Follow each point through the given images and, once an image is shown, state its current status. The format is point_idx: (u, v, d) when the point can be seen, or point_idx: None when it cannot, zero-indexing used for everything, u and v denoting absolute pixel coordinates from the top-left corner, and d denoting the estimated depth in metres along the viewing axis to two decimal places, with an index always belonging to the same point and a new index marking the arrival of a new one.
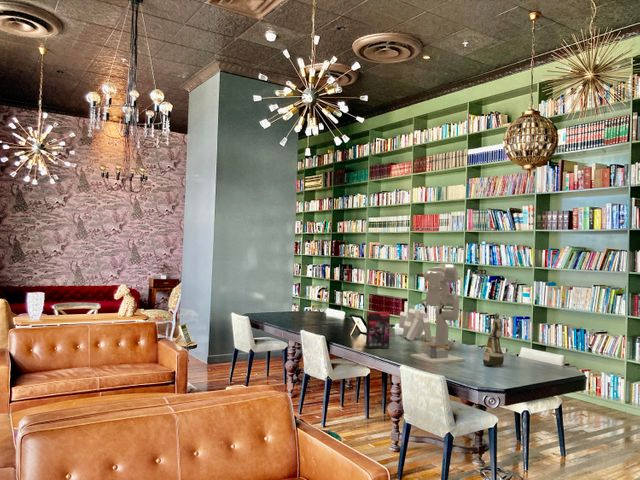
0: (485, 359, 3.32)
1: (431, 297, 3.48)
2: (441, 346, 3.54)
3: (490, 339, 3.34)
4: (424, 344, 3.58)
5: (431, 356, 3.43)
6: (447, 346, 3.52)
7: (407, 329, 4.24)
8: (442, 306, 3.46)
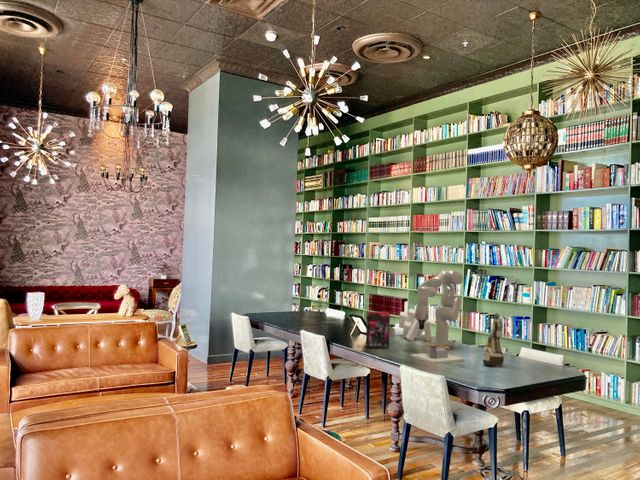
0: (485, 359, 3.32)
1: None
2: (441, 346, 3.54)
3: (490, 339, 3.34)
4: (424, 344, 3.58)
5: (431, 356, 3.43)
6: (447, 346, 3.52)
7: (407, 329, 4.24)
8: None
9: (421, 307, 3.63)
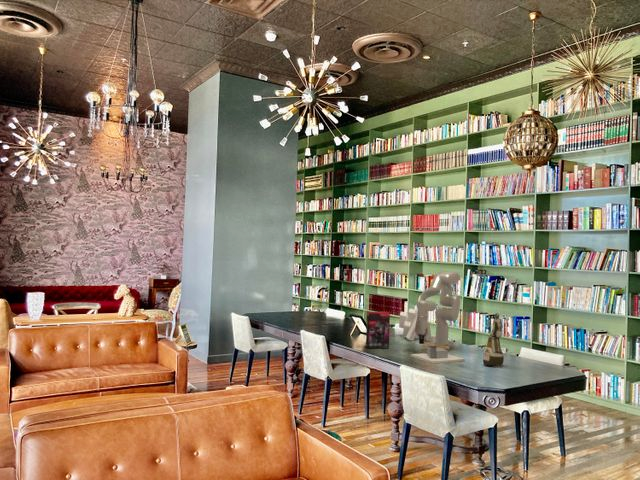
0: (485, 359, 3.32)
1: None
2: (441, 346, 3.54)
3: (490, 339, 3.34)
4: (424, 344, 3.58)
5: (431, 356, 3.43)
6: (447, 346, 3.52)
7: (407, 329, 4.24)
8: (420, 335, 3.68)
9: (421, 322, 3.63)
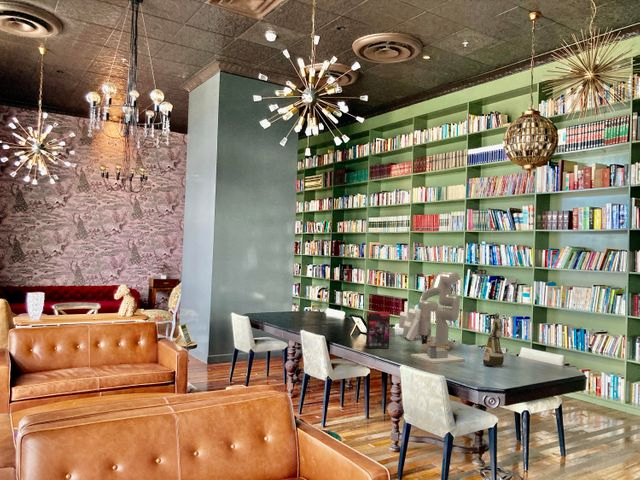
0: (485, 359, 3.32)
1: None
2: (441, 346, 3.54)
3: (490, 339, 3.34)
4: (424, 344, 3.58)
5: (431, 356, 3.43)
6: (447, 346, 3.52)
7: (407, 329, 4.24)
8: (423, 336, 3.65)
9: (424, 322, 3.60)
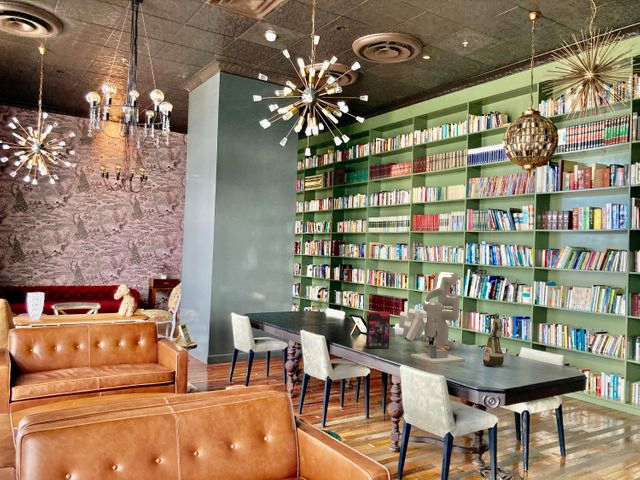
0: (485, 359, 3.32)
1: None
2: (442, 346, 3.52)
3: (490, 339, 3.34)
4: (425, 346, 3.51)
5: (431, 356, 3.43)
6: (448, 346, 3.52)
7: (407, 329, 4.24)
8: (430, 337, 3.58)
9: (431, 324, 3.53)
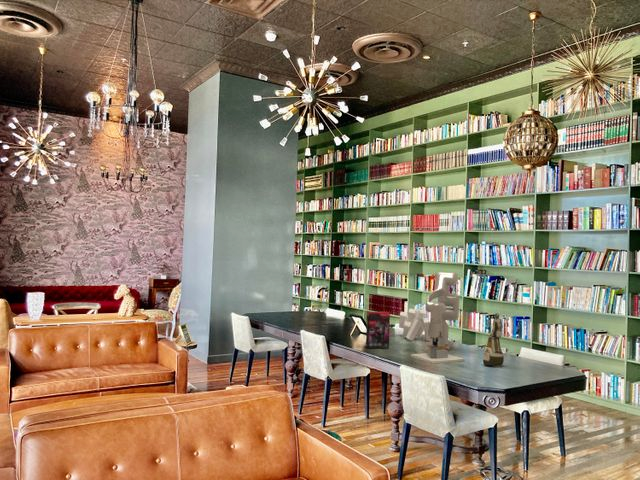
0: (485, 359, 3.32)
1: None
2: (444, 347, 3.51)
3: (490, 339, 3.34)
4: None
5: (431, 356, 3.43)
6: (448, 346, 3.53)
7: (407, 329, 4.24)
8: None
9: (434, 325, 3.49)
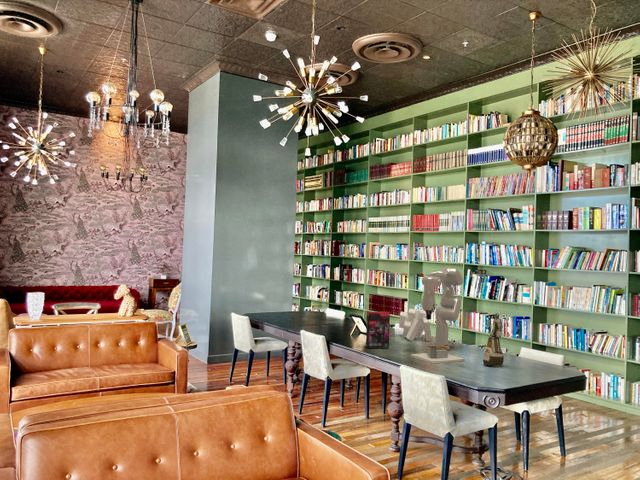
0: (485, 359, 3.32)
1: None
2: (444, 347, 3.51)
3: (490, 339, 3.34)
4: None
5: (431, 356, 3.43)
6: (448, 346, 3.53)
7: (407, 329, 4.24)
8: None
9: (428, 298, 3.63)
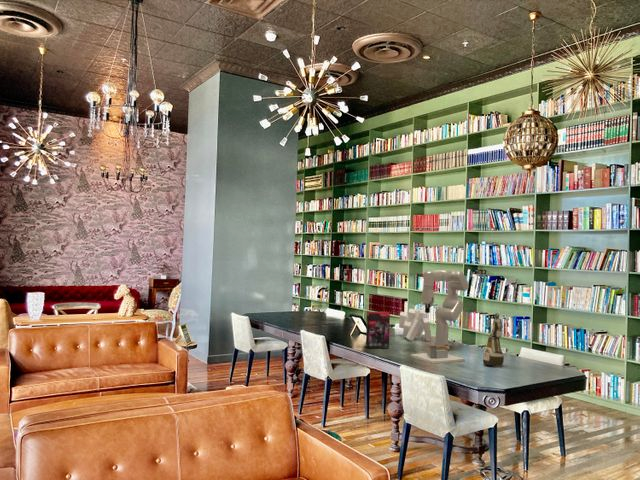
0: (485, 359, 3.32)
1: None
2: (444, 347, 3.51)
3: (490, 339, 3.34)
4: None
5: (431, 356, 3.43)
6: (448, 346, 3.53)
7: (407, 329, 4.24)
8: None
9: (427, 291, 3.71)
